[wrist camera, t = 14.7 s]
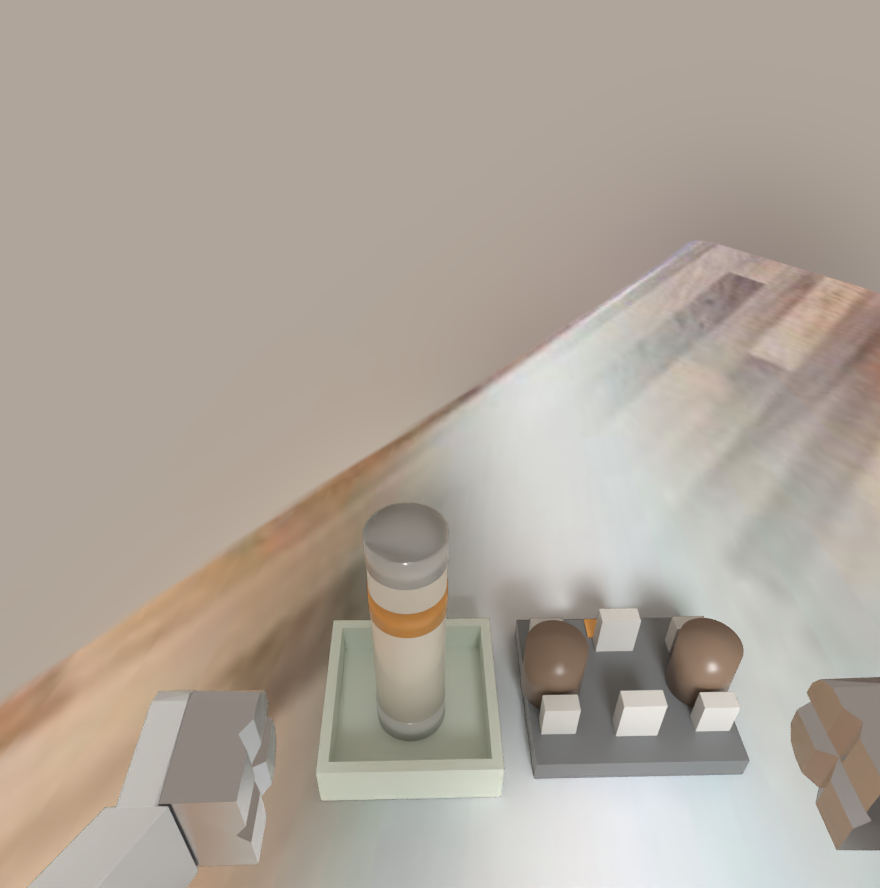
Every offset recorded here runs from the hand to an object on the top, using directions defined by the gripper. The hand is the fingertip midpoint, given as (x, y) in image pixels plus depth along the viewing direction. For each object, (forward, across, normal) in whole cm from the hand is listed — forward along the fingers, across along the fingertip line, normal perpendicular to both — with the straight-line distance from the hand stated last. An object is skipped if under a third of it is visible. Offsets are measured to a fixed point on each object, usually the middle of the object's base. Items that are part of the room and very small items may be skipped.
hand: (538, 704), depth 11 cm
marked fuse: (+18, +3, +29) cm, 34 cm away
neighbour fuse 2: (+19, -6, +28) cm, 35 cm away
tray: (+18, +2, +30) cm, 35 cm away
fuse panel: (+19, -10, +30) cm, 37 cm away
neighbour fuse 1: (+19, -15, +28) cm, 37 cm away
